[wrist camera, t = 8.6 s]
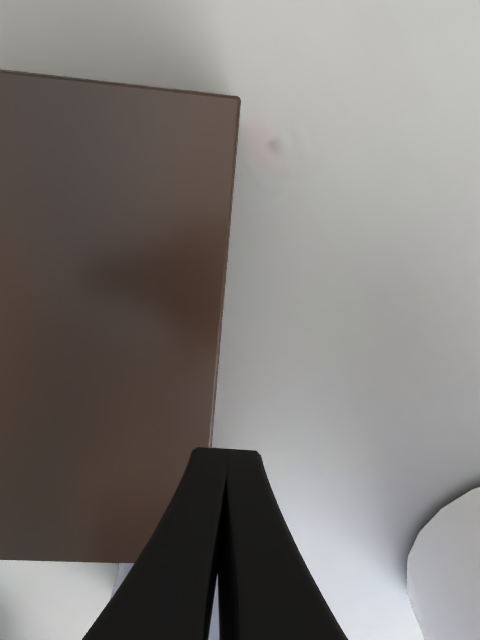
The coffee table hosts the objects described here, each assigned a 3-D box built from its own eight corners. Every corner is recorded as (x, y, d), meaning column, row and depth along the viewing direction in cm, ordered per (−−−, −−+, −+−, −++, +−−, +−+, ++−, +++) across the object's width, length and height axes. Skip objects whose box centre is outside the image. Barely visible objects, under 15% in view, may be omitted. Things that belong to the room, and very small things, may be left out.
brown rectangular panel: (-68, 539, 16) (-82, 558, 15) (-178, 53, 10) (-210, 44, 9) (202, 548, 16) (201, 566, 16) (240, 100, 11) (241, 95, 10)
